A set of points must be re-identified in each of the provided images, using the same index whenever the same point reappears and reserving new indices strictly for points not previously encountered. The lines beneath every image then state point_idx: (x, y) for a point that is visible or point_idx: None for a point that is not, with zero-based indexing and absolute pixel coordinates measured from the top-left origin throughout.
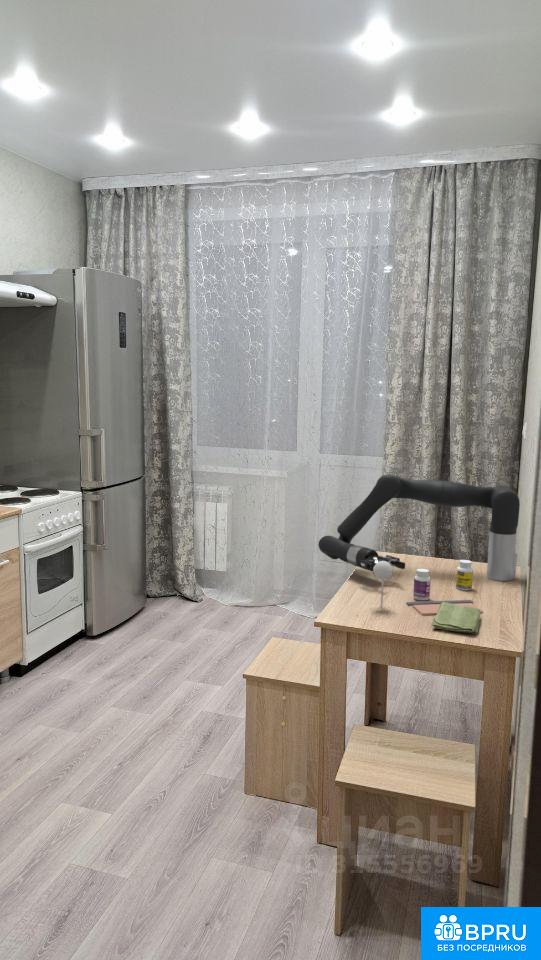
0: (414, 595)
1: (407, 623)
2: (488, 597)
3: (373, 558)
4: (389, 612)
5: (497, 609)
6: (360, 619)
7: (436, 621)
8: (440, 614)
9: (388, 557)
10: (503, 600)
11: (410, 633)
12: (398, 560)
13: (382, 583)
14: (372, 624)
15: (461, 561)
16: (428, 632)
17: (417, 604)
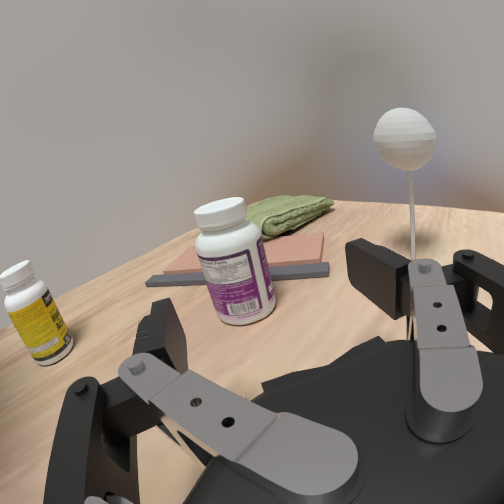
0: (273, 293)
1: (369, 217)
2: (89, 301)
3: (471, 353)
4: (396, 241)
5: (148, 262)
6: (459, 220)
7: (325, 197)
8: (307, 200)
9: (180, 399)
10: (90, 289)
11: (375, 202)
12: (104, 386)
13: (410, 183)
14: (435, 212)
15: (20, 267)
16: (345, 206)
17: (300, 266)
